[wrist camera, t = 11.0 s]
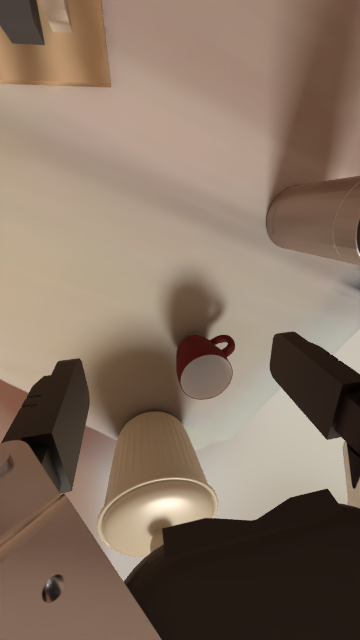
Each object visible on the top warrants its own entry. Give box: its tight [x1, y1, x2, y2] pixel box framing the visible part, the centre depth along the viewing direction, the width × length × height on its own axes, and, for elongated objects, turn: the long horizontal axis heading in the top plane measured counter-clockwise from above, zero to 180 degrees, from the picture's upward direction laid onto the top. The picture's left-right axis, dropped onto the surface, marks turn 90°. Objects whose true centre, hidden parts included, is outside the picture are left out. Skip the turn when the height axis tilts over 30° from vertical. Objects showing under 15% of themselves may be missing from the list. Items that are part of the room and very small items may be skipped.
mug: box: [176, 335, 235, 400], centre depth 41 cm, size 11×8×10 cm
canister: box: [97, 411, 218, 557], centre depth 42 cm, size 18×18×21 cm
